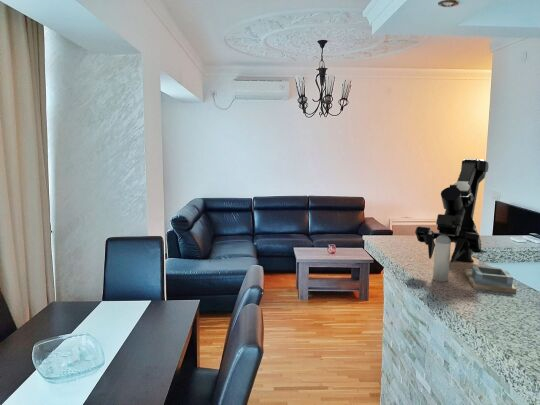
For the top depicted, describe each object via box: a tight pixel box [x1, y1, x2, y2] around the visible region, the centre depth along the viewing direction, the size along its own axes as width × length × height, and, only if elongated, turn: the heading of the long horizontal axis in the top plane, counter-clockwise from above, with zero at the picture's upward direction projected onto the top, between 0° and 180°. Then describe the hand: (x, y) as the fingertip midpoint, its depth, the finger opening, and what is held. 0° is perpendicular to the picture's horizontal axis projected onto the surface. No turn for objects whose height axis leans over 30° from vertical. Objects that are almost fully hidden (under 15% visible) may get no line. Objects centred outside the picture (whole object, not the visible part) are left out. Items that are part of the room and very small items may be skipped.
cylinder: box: [432, 235, 452, 283], centre depth 123 cm, size 4×4×14 cm
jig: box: [464, 265, 517, 294], centre depth 121 cm, size 16×11×4 cm
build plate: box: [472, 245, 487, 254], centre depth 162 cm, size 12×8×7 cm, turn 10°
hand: (440, 259), depth 122 cm, fingers open, 6 cm apart
